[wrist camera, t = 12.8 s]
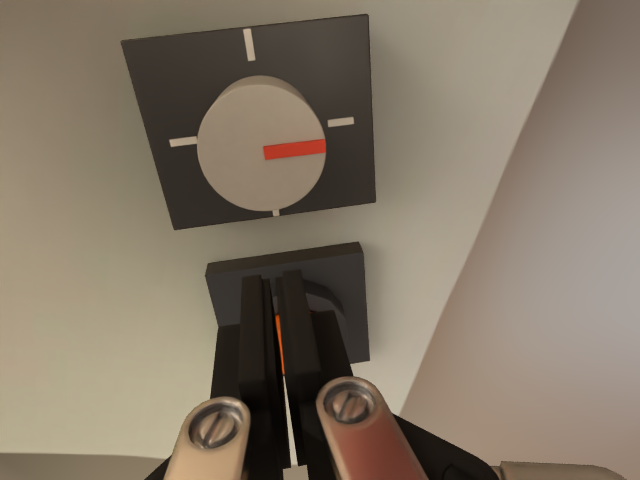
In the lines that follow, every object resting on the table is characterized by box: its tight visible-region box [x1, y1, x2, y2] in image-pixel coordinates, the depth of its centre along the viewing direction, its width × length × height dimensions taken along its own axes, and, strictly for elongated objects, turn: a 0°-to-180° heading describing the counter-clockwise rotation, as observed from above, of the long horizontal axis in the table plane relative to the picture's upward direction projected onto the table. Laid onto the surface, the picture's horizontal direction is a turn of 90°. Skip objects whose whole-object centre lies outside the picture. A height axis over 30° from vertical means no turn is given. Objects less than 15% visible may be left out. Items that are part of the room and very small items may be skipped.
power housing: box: [205, 242, 370, 376], centre depth 31 cm, size 11×10×4 cm
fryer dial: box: [197, 75, 326, 211], centre depth 20 cm, size 6×6×5 cm
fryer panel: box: [121, 14, 376, 230], centre depth 24 cm, size 12×10×4 cm
